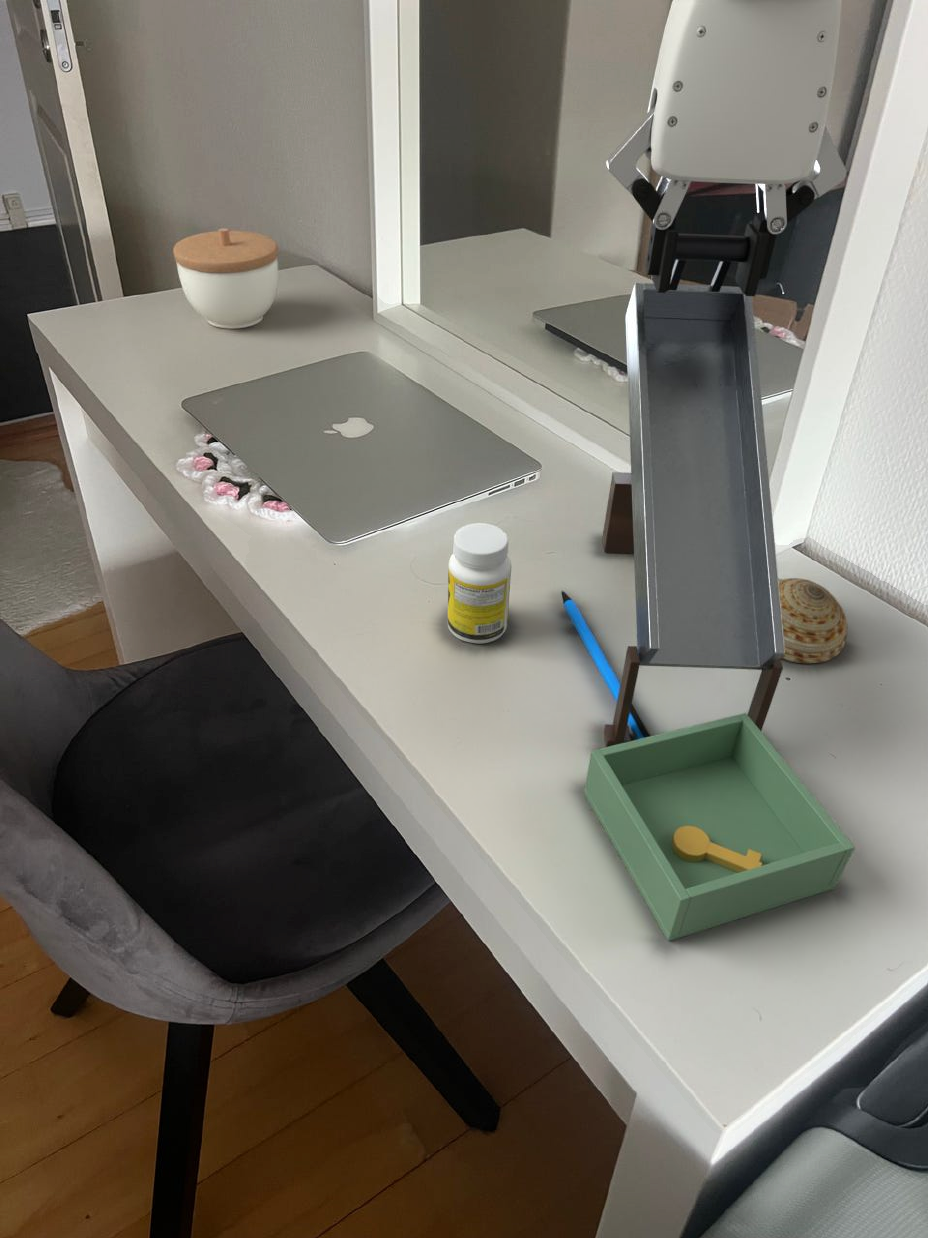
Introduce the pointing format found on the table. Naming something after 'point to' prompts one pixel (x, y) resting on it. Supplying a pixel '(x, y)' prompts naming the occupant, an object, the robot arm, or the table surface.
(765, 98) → the robot arm
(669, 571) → the trough
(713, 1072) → the table surface
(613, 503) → the stand
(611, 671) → the pen
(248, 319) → the lidded bowl
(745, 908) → the bin
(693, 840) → the key
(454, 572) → the supplement bottle
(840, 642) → the seashell
